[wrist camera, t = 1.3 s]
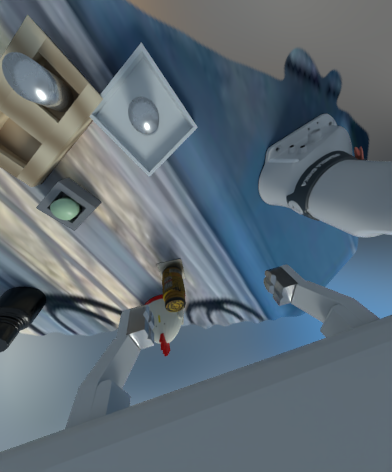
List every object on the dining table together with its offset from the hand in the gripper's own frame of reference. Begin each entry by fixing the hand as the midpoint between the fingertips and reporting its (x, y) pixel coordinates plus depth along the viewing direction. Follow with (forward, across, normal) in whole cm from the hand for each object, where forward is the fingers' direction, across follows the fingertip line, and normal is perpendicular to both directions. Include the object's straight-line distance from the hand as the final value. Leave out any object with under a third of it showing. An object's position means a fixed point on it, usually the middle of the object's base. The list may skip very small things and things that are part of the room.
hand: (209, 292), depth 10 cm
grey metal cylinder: (+30, +2, -12) cm, 33 cm away
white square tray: (+31, +2, -12) cm, 33 cm away
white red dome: (+30, +12, +41) cm, 53 cm away
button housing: (+30, +21, -1) cm, 37 cm away
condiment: (+31, +6, +25) cm, 40 cm away
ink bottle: (+31, +45, +21) cm, 58 cm away
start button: (+28, +21, -1) cm, 35 cm away
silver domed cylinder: (+30, +14, -18) cm, 38 cm away
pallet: (+31, +19, -15) cm, 39 cm away
